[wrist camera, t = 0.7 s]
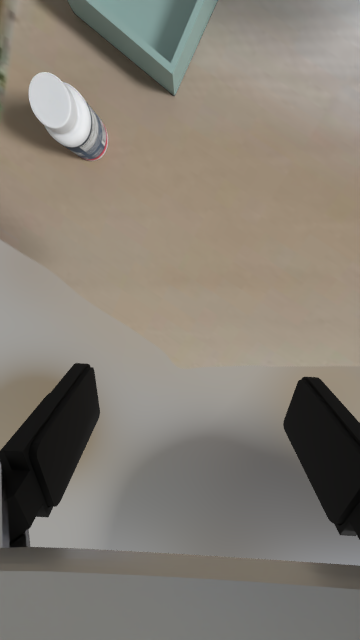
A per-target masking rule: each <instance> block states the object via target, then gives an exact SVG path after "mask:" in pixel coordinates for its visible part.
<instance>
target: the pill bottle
mask: <svg viewBox="0 0 360 640" xmlns="http://www.w3.org/2000/svg"><path fill="white" fill-rule="evenodd" d="M29 101H30V105H31V108H32V110H33V112H34V114H35V116H36V117H37V118H38V120H39V121H40V122H41V123H42V124H44V126H45V128H46V130H47V131H48V133H49V134H50V135H51V136H52V137H53V138H54V139H55V140H56V141H57V142H59V143H60V144H62V145H63V146H65V147H66V148H68V149H69V150H71V151H72V152H73V153H75V154H77V155H78V156H79V157H81V158H83V159H85V160H88V161H96V160H98V159H100V158H101V157H102V156H103V155H104V154H105V152H106V150H107V146H108V134H107V130H106V127H105V125H104V123H103V122H102V120H101V119H100V118H99V117H98V115H97V114H96V113H95V112H94V111H93V110H92V108H91V107H90V106H89V105H88V103H87V102H86V101H85V99H84V98H83V97H82V95H81V94H80V93H79V92H78V91H77V90H76V89H75V88H74V87H73V86H71V85H70V84H68V83H65V82H62V81H61V80H60V79H59V78H58V77H56V76H55V75H53V74H51V73H48V72H41V73H38V74H37V75H35V76H34V77H33V79H32V81H31V82H30V86H29Z"/></svg>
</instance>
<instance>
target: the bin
mask: <svg viewBox="0 0 360 640" xmlns="http://www.w3.org/2000/svg"><path fill="white" fill-rule="evenodd" d="M67 1H68V3H69V4H70V6H71V8H72V10H73V12H74V13H75V14H76V15H77V16H78V17H80V18H81V19H82V20H83V21H84V22H86V23H87V24H88V25H89V26H90V27H92V28H93V29H94V30H95V31H96V32H98V33H99V34H100V35H101V36H102V37H104V38H105V39H106V40H107V41H109V42H110V43H111V44H112V45H113V46H115V47H116V48H117V49H118V50H119V51H121V52H122V53H123V54H124V55H125V56H127V57H128V58H129V59H130V60H131V61H133V62H134V63H135V64H136V65H137V66H139V67H140V68H141V69H142V70H143V71H145V72H146V73H147V74H148V75H150V76H151V77H152V78H153V79H154V80H156V81H157V82H158V83H159V84H160V85H162V86H163V87H164V88H165V89H166V90H168V91H169V92H170V93H171V94H172V95H174V96H175V94H176V92H177V90H178V88H179V86H180V83H181V81H182V79H183V77H184V74H185V72H186V70H187V68H188V66H189V63H190V61H191V59H192V57H193V54H194V52H195V50H196V48H197V46H198V43H199V41H200V39H201V37H202V34H203V32H204V30H205V28H206V26H207V23H208V21H209V19H210V17H211V14H212V12H213V10H214V8H215V6H216V3H217V1H218V0H67Z"/></svg>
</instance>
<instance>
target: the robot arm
mask: <svg viewBox="0 0 360 640" xmlns="http://www.w3.org/2000/svg"><path fill="white" fill-rule="evenodd" d="M99 414H100V409H99V403H98V395H97V388H96V381H95V374H94V369H93V368H91V367H90V365H89V364H80V363H76V364H74V365H73V366H72V368H71V369H70V370H69V371H68V372H67V373H66V375H65V376H64V377H63V378H62V379H61V381H60V382H59V383H58V385H57V386H56V387H55V388H54V389H53V391H52V392H51V393H49V394H48V395H47V396H46V397H45V398H44V399H43V401H42V402H41V403H40V404H39V405H38V406H37V408H36V409H35V410H34V411H33V413H32V414H31V415H30V416H29V417H28V419H27V420H26V421H25V422H24V423H23V424H22V426H21V427H20V428H19V429H18V430H17V432H16V433H15V434H14V435H13V436H12V438H11V439H10V440H9V441H8V442H7V444H6V445H5V446H4V447H3V448H2V449H1V451H0V640H360V566H355V565H340V564H326V563H311V562H296V561H281V560H266V559H250V558H234V557H218V556H201V555H184V554H169V553H168V554H167V553H151V552H132V551H114V550H95V549H74V548H44V547H30V538H29V528H30V527H31V525H32V523H33V521H34V519H35V517H36V516H37V517H49V515H50V512H51V510H52V508H53V506H57V505H58V504H59V502H60V501H61V499H62V496H63V494H64V492H65V490H66V488H67V486H68V484H69V481H70V479H71V477H72V475H73V473H74V471H75V468H76V466H77V464H78V462H79V460H80V458H81V455H82V453H83V451H84V449H85V447H86V445H87V442H88V440H89V438H90V436H91V433H92V431H93V429H94V427H95V425H96V423H97V421H98V418H99ZM284 429H285V432H286V434H287V436H288V438H289V440H290V442H291V444H292V446H293V448H294V450H295V452H296V454H297V456H298V458H299V460H300V462H301V464H302V466H303V468H304V470H305V472H306V474H307V477H308V479H309V481H310V483H311V485H312V487H313V489H314V491H315V493H316V495H317V497H318V499H319V501H320V503H321V505H322V507H323V509H324V511H325V513H326V515H327V517H328V519H329V520H330V521H331V522H332V523H334V524H335V526H336V528H337V530H338V532H339V534H340V535H347V536H356V535H358V538H359V539H360V423H359V422H358V421H357V420H356V419H355V417H354V416H353V415H352V414H351V413H350V412H349V411H348V410H347V408H346V407H345V406H344V405H343V404H342V403H341V402H340V401H339V399H338V398H337V397H336V396H335V395H334V394H333V393H332V392H331V391H330V390H329V388H328V387H327V386H326V385H325V384H324V383H323V382H322V381H321V380H320V379H319V378H315V377H303V378H302V379H301V380H299V381H298V383H297V386H296V389H295V391H294V394H293V397H292V400H291V403H290V406H289V408H288V411H287V414H286V417H285V420H284Z"/></svg>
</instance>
